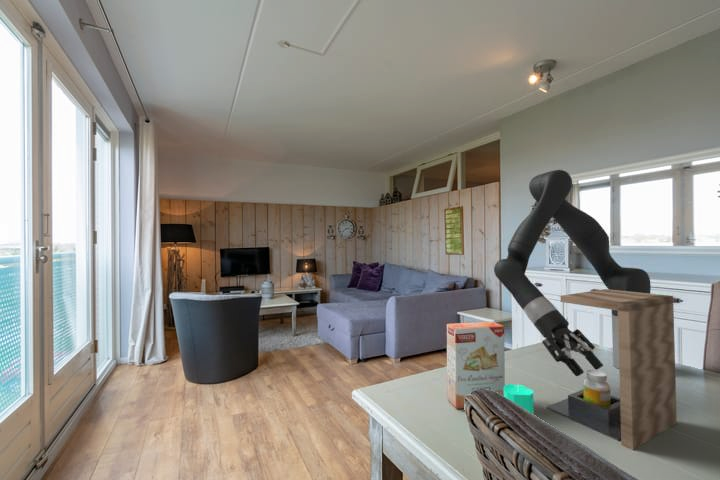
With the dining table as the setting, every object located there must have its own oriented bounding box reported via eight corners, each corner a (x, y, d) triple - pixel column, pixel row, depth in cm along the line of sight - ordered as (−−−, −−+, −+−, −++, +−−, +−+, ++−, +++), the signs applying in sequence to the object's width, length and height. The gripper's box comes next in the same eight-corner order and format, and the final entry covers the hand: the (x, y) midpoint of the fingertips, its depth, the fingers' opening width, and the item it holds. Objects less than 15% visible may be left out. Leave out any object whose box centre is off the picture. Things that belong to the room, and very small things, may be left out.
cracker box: (456, 410, 84) (454, 328, 84) (446, 399, 90) (445, 323, 90) (507, 405, 87) (505, 325, 87) (493, 394, 92) (492, 320, 93)
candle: (538, 447, 69) (537, 389, 69) (508, 444, 70) (506, 387, 70) (530, 430, 75) (528, 377, 75) (501, 428, 76) (500, 376, 76)
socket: (582, 394, 92) (582, 379, 92) (654, 420, 78) (653, 404, 78) (546, 408, 85) (545, 392, 85) (618, 440, 70) (617, 422, 70)
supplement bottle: (578, 407, 84) (577, 369, 84) (597, 405, 84) (597, 367, 84) (595, 418, 78) (595, 378, 78) (616, 417, 79) (616, 376, 79)
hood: (608, 398, 89) (605, 289, 89) (676, 423, 76) (673, 295, 77) (563, 418, 80) (560, 295, 80) (632, 449, 67) (628, 304, 68)
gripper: (537, 312, 87) (585, 369, 77) (569, 306, 94) (617, 358, 84) (520, 327, 92) (563, 384, 82) (551, 321, 99) (595, 372, 88)
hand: (590, 371), depth 83 cm, fingers open, 8 cm apart
